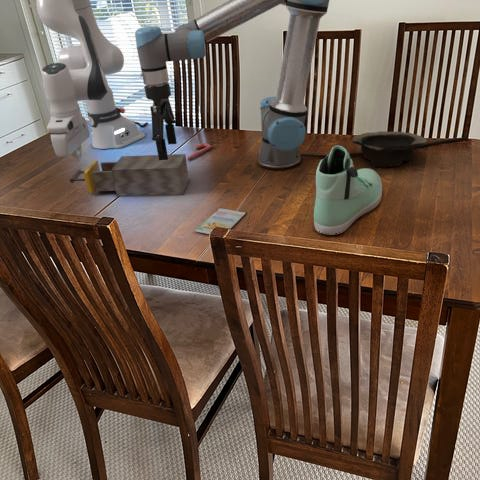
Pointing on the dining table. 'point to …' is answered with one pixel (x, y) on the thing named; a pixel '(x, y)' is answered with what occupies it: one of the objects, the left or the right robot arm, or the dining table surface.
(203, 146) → the candy cane
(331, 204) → the sneaker
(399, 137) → the stone bowl
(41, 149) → the dining table surface
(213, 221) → the baking ingredient package
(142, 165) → the grey zigzag patterned box
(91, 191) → the drawer
